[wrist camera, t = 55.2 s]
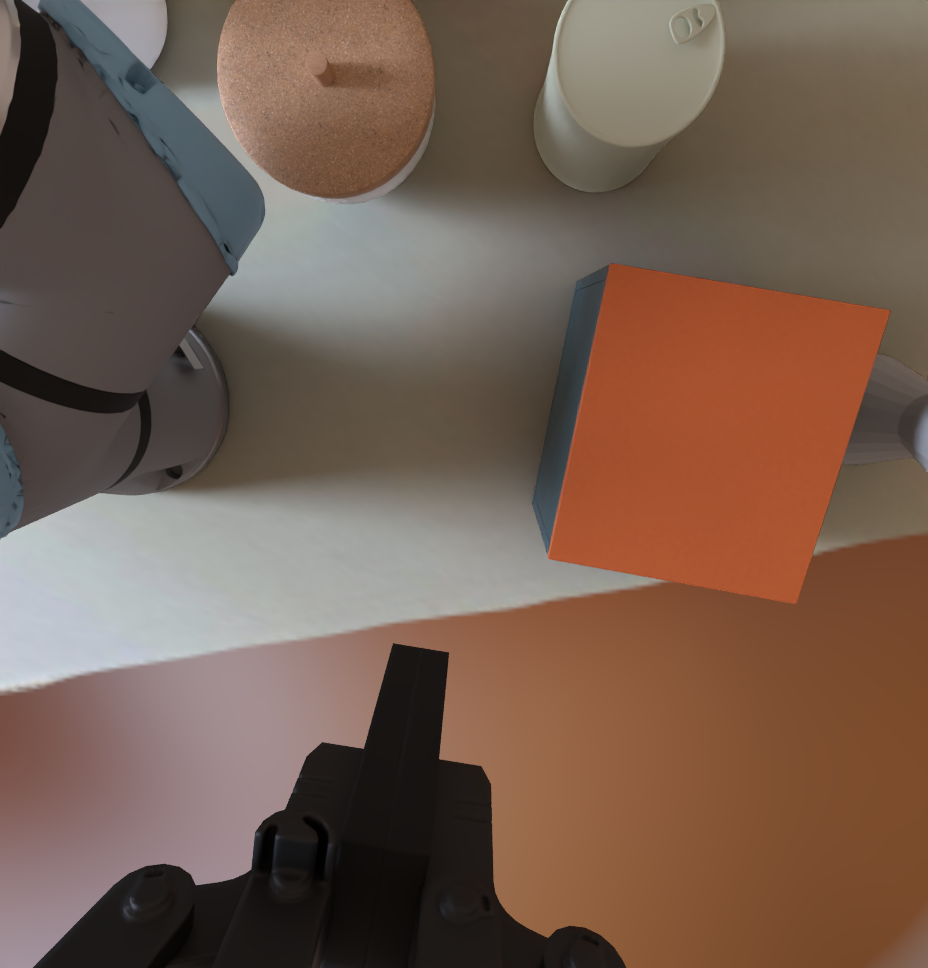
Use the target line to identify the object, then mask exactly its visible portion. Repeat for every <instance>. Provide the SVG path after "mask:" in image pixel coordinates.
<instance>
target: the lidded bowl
mask: <svg viewBox="0 0 928 968" xmlns="http://www.w3.org/2000/svg"><path fill="white" fill-rule="evenodd" d="M217 75H218V87H219V92H220V97H221V103H222V106H223V109H224V112H225V115H226V118H227V121H228V123H229V125H230V127H231V129H232V131H233V133H234V135H235V137H236V139H237V140H238V142H239V143H240V144H241V146H242V147H243V149H244V150H245V152H246V153H247V154H248V155H249V156H250V158H251V159H252V160H253V161H254V162H255V163H256V164H257V165H258V166H259V167H260V168H261V169H262V170H264V171H265V172H266V173H267V174H269V175H270V176H271V177H272V178H274V179H275V180H277V181H278V182H280V183H282V184H284V185H285V186H287V187H289V188H290V189H293V190H295V191H298V192H300V193H301V194H303V195H306V196H308V197H311V198H314V199H316V200H319V201H324V202H329V203H334V204H357V203H364V202H367V201H370V200H373V199H376V198H379V197H381V196H383V195H385V194H387V193H389V192H391V191H392V190H393V189H394V188H396V187H397V186H398V185H400V184H401V183H402V182H403V181H404V180H405V179H406V178H407V177H408V176H409V175H410V174H411V172H412V171H413V170H414V168H415V167H416V165H417V164H418V162H419V161H420V159H421V157H422V155H423V153H424V151H425V149H426V147H427V144H428V141H429V138H430V135H431V131H432V126H433V120H434V114H435V95H436V91H435V84H436V75H435V66H434V58H433V52H432V48H431V44H430V41H429V37H428V33H427V31H426V28H425V26H424V23H423V21H422V19H421V16H420V14H419V12H418V11H417V9H416V8H415V6H414V4H413V3H412V1H411V0H235V2H234V3H233V5H232V7H231V9H230V11H229V13H228V16H227V18H226V21H225V23H224V26H223V29H222V33H221V38H220V42H219V47H218V59H217Z"/></svg>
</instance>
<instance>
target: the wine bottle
mask: <svg viewBox="0 0 928 968" xmlns="http://www.w3.org/2000/svg"><path fill="white" fill-rule="evenodd" d="M22 1H23V2H25V3H26V4H27V5H28V6H30V7H31V8H32V9H34V10H35V11H36V12H38V13H40V11H39V9H38V8H37V7H38V5H39V2H40V0H22ZM80 1H81V2H82V3H83V4H85V5H86V6H87V7H88V8H89V9H90V10H91V11H92V12H93V13H94V14H95V15H96V16H97V17H98V18H99V19H100V20H101V21H102V22H103V23H104V24H105V25H106V26H107V27H108V28H109V29H110V30H111V31H112V32H113V33H114V34H115V35H116V36H117V37H118V38H119V39H120V40H121V41H122V42H123V43H124V44H125V45H126V46H127V47H128V48H129V49H130V50H131V52H132V53H133V54H134V55H135V56H136V57H137V58H138V59H139V60H140V61H141V62H142V63H143V64H144V65H146V66H147V67H148V68H149V69H151V68H152V66H153V65H154V63H155V62H156V60H157V59H158V58H159V55H160V53H161V51H162V49H163V46H164V42H165V38H166V34H167V22H168V20H167V7H166V2H165V0H80Z"/></svg>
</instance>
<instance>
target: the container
mask: <svg viewBox="0 0 928 968" xmlns="http://www.w3.org/2000/svg"><path fill="white" fill-rule="evenodd" d="M608 267H609V265H608V266H606V267H604V268H602V269H600V270H598V271H596V272H594V273H592V274H590V275H588V276H586V277H584V278H582V279H580V280H578V281H577V283H576V288H575V293H574V298H573V303H572V308H571V313H570V318H569V323H568V328H567V333H566V338H565V343H564V348H563V353H562V358H561V363H560V368H559V373H558V378H557V382H556V387H555V392H554V397H553V402H552V407H551V412H550V417H549V422H548V427H547V432H546V437H545V442H544V447H543V452H542V457H541V462H540V467H539V472H538V477H537V482H536V487H535V492H534V497H533V502H532V505H533V508H534V511H535V515H536V518H537V521H538V525H539V528H540V531H541V535H542V538H543V541H544V544H545V548H546V551H547V554H548V550H549V546H550V541H551V536H552V532H553V527H554V522H555V517H556V513H557V508H558V503H559V499H560V494H561V489H562V484H563V480H564V475H565V470H566V466H567V461H568V456H569V451H570V447H571V442H572V437H573V432H574V428H575V423H576V418H577V414H578V409H579V404H580V399H581V395H582V390H583V385H584V381H585V376H586V371H587V366H588V362H589V357H590V352H591V348H592V343H593V338H594V333H595V329H596V324H597V319H598V315H599V310H600V305H601V300H602V296H603V291H604V286H605V282H606V277H607V272H608Z"/></svg>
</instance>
